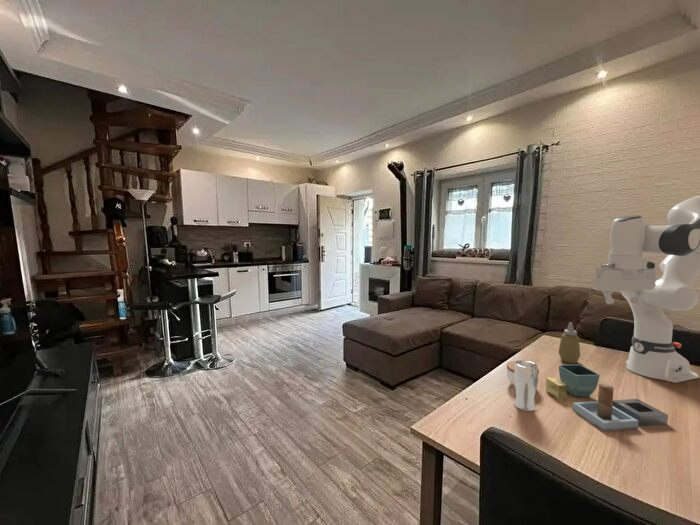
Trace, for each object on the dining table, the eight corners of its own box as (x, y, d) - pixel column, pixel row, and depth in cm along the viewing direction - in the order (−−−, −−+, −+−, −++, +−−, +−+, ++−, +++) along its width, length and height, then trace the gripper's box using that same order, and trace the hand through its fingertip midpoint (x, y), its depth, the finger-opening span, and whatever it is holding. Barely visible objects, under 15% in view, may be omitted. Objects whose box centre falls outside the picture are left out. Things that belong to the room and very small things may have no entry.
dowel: (605, 413, 95) (607, 383, 95) (614, 420, 92) (616, 389, 91) (594, 413, 96) (596, 383, 95) (602, 419, 92) (604, 389, 91)
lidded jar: (538, 396, 107) (539, 371, 106) (504, 388, 113) (505, 364, 112) (538, 383, 116) (539, 360, 116) (507, 377, 122) (508, 355, 121)
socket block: (636, 407, 100) (637, 398, 99) (667, 424, 91) (668, 414, 90) (611, 409, 99) (612, 400, 99) (640, 426, 90) (641, 416, 90)
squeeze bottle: (577, 359, 138) (579, 321, 137) (582, 366, 131) (584, 326, 130) (556, 356, 142) (558, 319, 140) (560, 363, 134) (562, 324, 133)
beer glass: (533, 402, 103) (535, 361, 102) (539, 414, 97) (541, 369, 95) (511, 399, 106) (512, 358, 104) (515, 410, 99) (516, 366, 98)
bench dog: (553, 389, 111) (553, 377, 111) (566, 398, 106) (566, 385, 105) (545, 390, 111) (546, 377, 111) (558, 399, 105) (558, 385, 105)
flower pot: (578, 386, 114) (580, 364, 113) (599, 399, 105) (600, 374, 104) (556, 387, 113) (557, 364, 112) (575, 400, 104) (576, 375, 104)
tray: (603, 407, 100) (603, 400, 99) (637, 428, 89) (638, 420, 89) (572, 409, 99) (573, 402, 99) (603, 431, 88) (604, 423, 88)
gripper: (605, 265, 98) (603, 306, 99) (662, 263, 100) (658, 304, 101) (588, 263, 104) (586, 302, 105) (642, 262, 106) (639, 300, 107)
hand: (622, 303), depth 103 cm, fingers open, 8 cm apart
